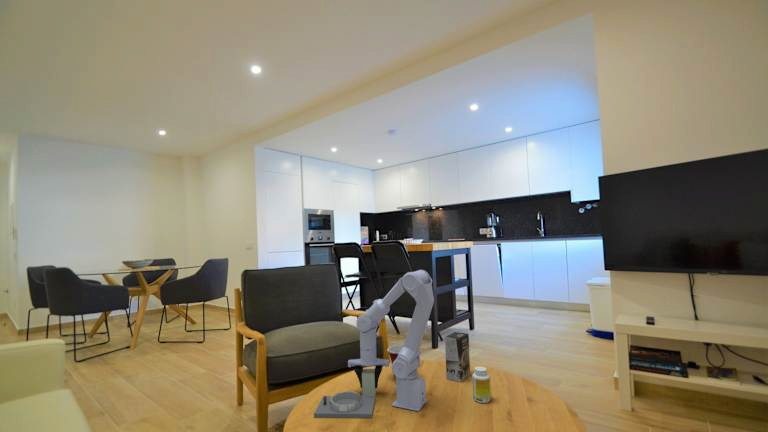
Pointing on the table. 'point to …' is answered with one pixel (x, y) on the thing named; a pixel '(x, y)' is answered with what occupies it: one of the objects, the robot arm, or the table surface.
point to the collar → (343, 407)
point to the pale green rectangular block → (368, 382)
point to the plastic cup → (394, 352)
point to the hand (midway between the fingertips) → (369, 387)
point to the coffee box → (457, 356)
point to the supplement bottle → (481, 385)
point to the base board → (361, 412)
